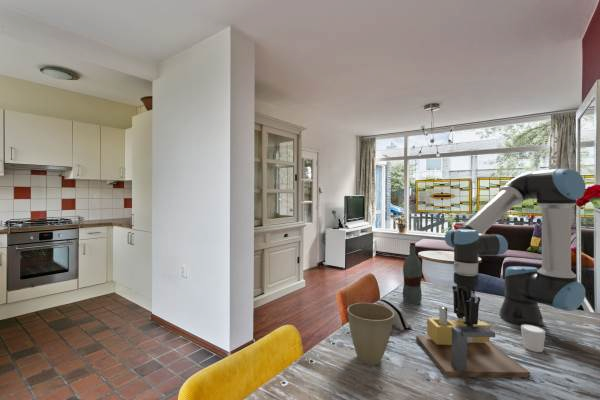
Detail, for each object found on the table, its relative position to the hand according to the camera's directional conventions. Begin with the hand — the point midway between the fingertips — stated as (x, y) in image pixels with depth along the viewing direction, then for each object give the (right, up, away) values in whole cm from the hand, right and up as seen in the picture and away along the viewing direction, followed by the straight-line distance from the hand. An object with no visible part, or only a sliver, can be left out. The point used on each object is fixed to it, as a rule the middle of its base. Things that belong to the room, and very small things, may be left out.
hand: (464, 338), depth 103 cm
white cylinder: (+24, -3, 0) cm, 24 cm away
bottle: (-2, -3, +44) cm, 44 cm away
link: (-2, 0, 0) cm, 2 cm away
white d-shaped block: (-19, -3, +21) cm, 28 cm away
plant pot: (-36, -3, -8) cm, 37 cm away
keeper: (-7, -3, -15) cm, 17 cm away
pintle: (-8, -3, 0) cm, 8 cm away
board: (-3, -3, -6) cm, 7 cm away
